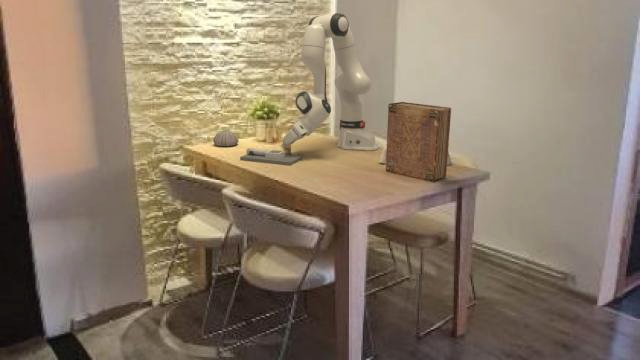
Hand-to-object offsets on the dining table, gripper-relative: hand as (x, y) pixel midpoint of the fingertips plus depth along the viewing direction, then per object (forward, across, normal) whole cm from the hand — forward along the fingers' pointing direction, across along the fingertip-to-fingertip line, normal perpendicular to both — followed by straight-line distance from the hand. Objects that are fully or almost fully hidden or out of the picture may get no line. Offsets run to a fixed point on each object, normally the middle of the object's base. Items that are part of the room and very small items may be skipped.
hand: (286, 144), depth 272 cm
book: (-44, +12, +51) cm, 68 cm away
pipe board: (+5, +13, +2) cm, 14 cm away
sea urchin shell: (+31, -7, -24) cm, 40 cm away
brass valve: (+3, 0, +4) cm, 5 cm away
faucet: (-33, -8, +41) cm, 53 cm away
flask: (-50, -13, +57) cm, 77 cm away
